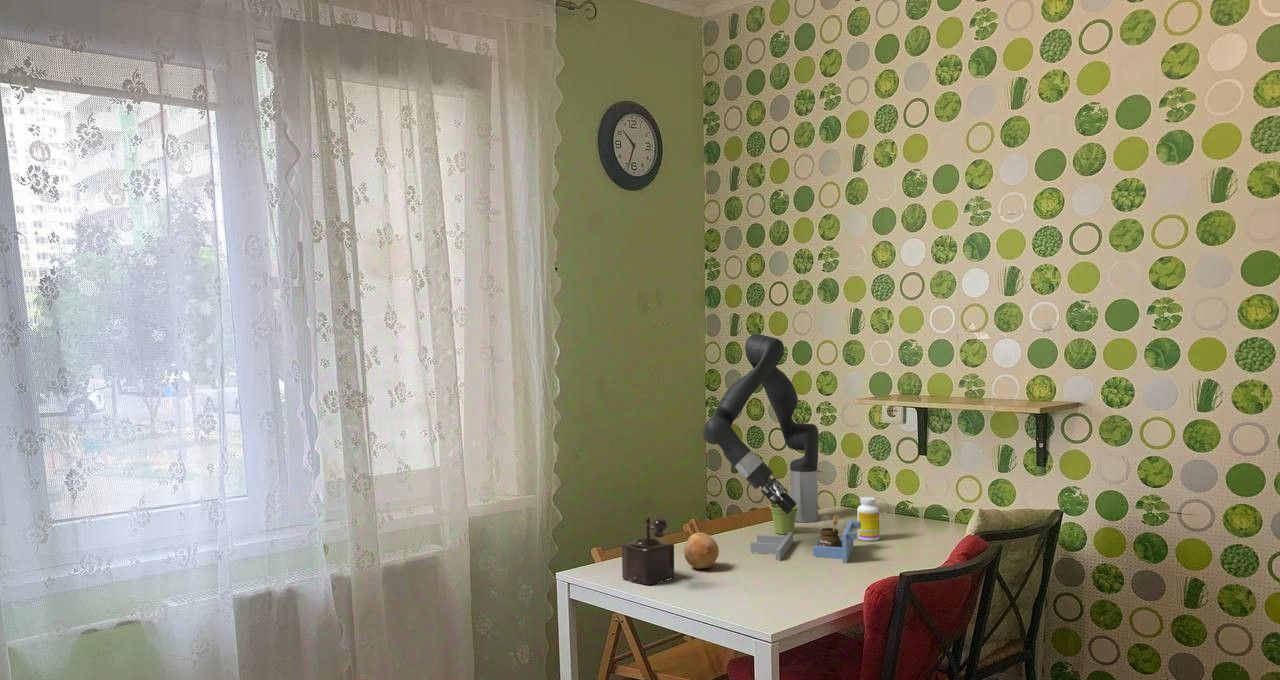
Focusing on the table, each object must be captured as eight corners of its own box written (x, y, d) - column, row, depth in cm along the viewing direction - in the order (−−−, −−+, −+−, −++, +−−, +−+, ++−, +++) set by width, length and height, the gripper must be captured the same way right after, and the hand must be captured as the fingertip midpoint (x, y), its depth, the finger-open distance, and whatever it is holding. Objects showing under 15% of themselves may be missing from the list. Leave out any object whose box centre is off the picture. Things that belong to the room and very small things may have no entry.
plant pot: (774, 528, 304) (774, 502, 304) (802, 530, 300) (802, 504, 300) (765, 534, 296) (765, 507, 296) (794, 537, 292) (793, 509, 291)
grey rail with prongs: (746, 558, 266) (745, 548, 266) (762, 539, 289) (761, 530, 289) (779, 560, 263) (779, 550, 263) (793, 541, 286) (793, 531, 286)
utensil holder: (831, 549, 274) (830, 509, 274) (845, 554, 269) (844, 513, 269) (815, 552, 272) (814, 512, 271) (829, 557, 266) (828, 515, 266)
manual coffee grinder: (619, 579, 247) (617, 513, 246) (647, 571, 254) (646, 506, 254) (661, 590, 236) (659, 521, 235) (689, 581, 244) (688, 514, 243)
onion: (726, 568, 256) (726, 532, 256) (701, 575, 249) (700, 538, 249) (702, 561, 263) (701, 527, 263) (676, 568, 257) (676, 533, 256)
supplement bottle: (881, 541, 283) (881, 500, 283) (860, 541, 283) (859, 500, 283) (876, 536, 290) (876, 496, 290) (855, 536, 290) (855, 496, 290)
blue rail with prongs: (811, 560, 262) (810, 532, 262) (820, 544, 281) (819, 518, 281) (855, 563, 258) (854, 535, 258) (861, 546, 277) (861, 520, 277)
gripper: (757, 464, 269) (797, 505, 266) (766, 457, 283) (804, 496, 279) (740, 482, 271) (779, 522, 267) (749, 474, 284) (787, 512, 281)
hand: (792, 509), depth 273 cm, fingers open, 8 cm apart
